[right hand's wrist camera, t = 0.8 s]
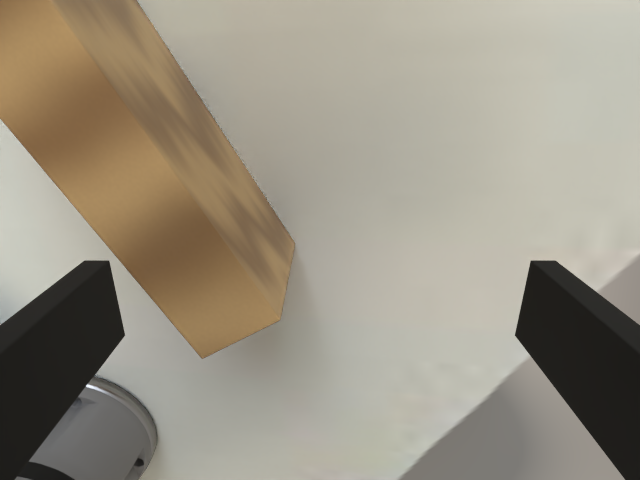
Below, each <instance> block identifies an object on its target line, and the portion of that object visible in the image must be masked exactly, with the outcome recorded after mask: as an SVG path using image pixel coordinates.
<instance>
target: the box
mask: <svg viewBox="0 0 640 480" xmlns="http://www.w3.org/2000/svg"><path fill="white" fill-rule="evenodd" d="M0 119H1V120H2V121H3V122H4V124H5V125H6V126H7V127H8V128H9V129H10V131H11V132H12V133H13V134H14V135H15V137H16V138H17V139H18V140H19V141H20V143H21V144H22V145H23V146H24V147H25V149H26V150H27V151H28V152H29V153H30V154H31V156H32V157H33V158H34V159H35V160H36V162H37V163H38V164H39V165H40V166H41V168H42V169H43V170H44V171H45V172H46V174H47V175H48V176H49V177H50V178H51V179H52V181H53V182H54V183H55V184H56V185H57V187H58V188H59V189H60V190H61V191H62V193H63V194H64V195H65V196H66V197H67V199H68V200H69V201H70V202H71V203H72V204H73V206H74V207H75V208H76V209H77V210H78V212H79V213H80V214H81V215H82V216H83V218H84V219H85V220H86V221H87V222H88V224H89V225H90V226H91V227H92V228H93V229H94V231H95V232H96V233H97V234H98V235H99V237H100V238H101V239H102V240H103V241H104V243H105V244H106V245H107V246H108V247H109V249H110V250H111V251H112V252H113V253H114V254H115V256H116V257H117V258H118V259H119V260H120V262H121V263H122V264H123V265H124V266H125V268H126V269H127V270H128V271H129V272H130V274H131V275H132V276H133V277H134V278H135V279H136V281H137V282H138V283H139V284H140V285H141V287H142V288H143V289H144V290H145V291H146V293H147V294H148V295H149V296H150V297H151V299H152V300H153V301H154V302H155V303H156V304H157V306H158V307H159V308H160V309H161V310H162V312H163V313H164V314H165V315H166V316H167V318H168V319H169V320H170V321H171V322H172V324H173V325H174V326H175V327H176V328H177V330H178V331H179V332H180V333H181V334H182V335H183V337H184V338H185V339H186V340H187V341H188V343H189V344H190V345H191V346H192V347H193V349H194V350H195V351H196V352H197V353H198V355H199V356H200V357H201V358H202V359H203V358H205V357H207V356H209V355H211V354H213V353H215V352H217V351H219V350H221V349H223V348H225V347H227V346H229V345H231V344H233V343H235V342H237V341H239V340H241V339H243V338H245V337H247V336H249V335H251V334H253V333H255V332H257V331H259V330H261V329H263V328H265V327H267V326H269V325H271V324H273V323H275V322H277V321H279V320H280V319H281V314H282V309H283V304H284V299H285V293H286V288H287V283H288V278H289V273H290V268H291V263H292V257H293V252H294V247H295V242H294V241H293V239H292V238H291V236H290V235H289V233H288V232H287V230H286V229H285V227H284V226H283V224H282V223H281V221H280V220H279V218H278V216H277V215H276V213H275V212H274V210H273V209H272V207H271V206H270V204H269V203H268V201H267V200H266V198H265V197H264V195H263V193H262V192H261V190H260V189H259V187H258V186H257V184H256V183H255V181H254V180H253V178H252V177H251V175H250V174H249V172H248V171H247V169H246V167H245V166H244V164H243V163H242V161H241V160H240V158H239V157H238V155H237V154H236V152H235V151H234V149H233V148H232V146H231V144H230V143H229V141H228V140H227V138H226V137H225V135H224V134H223V132H222V131H221V129H220V128H219V126H218V125H217V123H216V121H215V120H214V118H213V117H212V115H211V114H210V112H209V111H208V109H207V108H206V106H205V105H204V103H203V102H202V100H201V99H200V97H199V95H198V94H197V92H196V91H195V89H194V88H193V86H192V85H191V83H190V82H189V80H188V79H187V77H186V76H185V74H184V72H183V71H182V69H181V68H180V66H179V65H178V63H177V62H176V60H175V59H174V57H173V56H172V54H171V53H170V51H169V49H168V48H167V46H166V45H165V43H164V42H163V40H162V39H161V37H160V36H159V34H158V33H157V31H156V30H155V28H154V27H153V25H152V23H151V22H150V20H149V19H148V17H147V16H146V14H145V13H144V11H143V10H142V8H141V7H140V5H139V4H138V2H137V0H0Z"/></svg>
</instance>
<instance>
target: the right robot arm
mask: <svg viewBox="0 0 640 480" xmlns="http://www.w3.org/2000/svg"><path fill="white" fill-rule="evenodd" d="M124 336H125V333H124V328H123V324H122V319H121V314H120V310H119V305H118V300H117V295H116V291H115V286H114V281H113V277H112V272H111V267H110V262H109V261H83V262H82V263H81V264H80V265H78V266H77V267H76V268H74V269H73V270H72V271H70V272H69V273H68V274H67V275H65V276H64V277H63V278H61V279H60V280H59V281H57V282H56V283H55V284H54V285H52V286H51V287H50V288H48V289H47V290H46V291H44V292H43V293H42V294H40V295H39V296H38V297H37V298H35V299H34V300H33V301H31V302H30V303H29V304H27V305H26V306H25V307H24V308H22V309H21V310H20V311H18V312H17V313H16V314H14V315H13V316H12V317H11V318H9V319H8V320H7V321H5V322H4V323H3V324H1V325H0V480H138V479H139V478H140V477H141V475H142V474H143V472H144V471H145V470H146V468H147V466H148V465H149V462H150V460H151V458H152V456H153V454H154V451H155V448H156V444H157V434H156V429H155V425H154V423H153V420H152V418H151V417H150V415H149V413H148V412H147V410H146V409H145V408H144V407H143V405H142V404H141V403H140V402H139V401H138V400H137V399H136V398H134V397H133V396H132V395H131V394H129V393H128V392H127V391H125V390H124V389H122V388H120V387H118V386H117V385H115V384H113V383H110V382H108V381H106V380H103V379H100V378H97V377H93V376H94V375H95V374H96V373H97V371H98V370H99V369H100V367H101V366H102V365H103V363H104V362H105V361H106V359H107V358H108V357H109V356H110V354H111V353H112V352H113V350H114V349H115V348H116V346H117V345H118V344H119V342H120V341H121V340H122V339H123V337H124ZM515 336H516V337H517V339H518V340H519V341H520V342H521V344H522V345H523V346H524V348H525V349H526V350H527V352H528V353H529V354H530V356H531V357H532V358H533V359H534V361H535V362H536V363H537V365H538V366H539V367H540V369H541V370H542V371H543V373H544V374H545V375H546V376H547V378H548V379H549V380H550V382H551V383H552V384H553V386H554V387H555V388H556V390H557V391H558V392H559V393H560V395H561V396H562V397H563V399H564V400H565V401H566V403H567V404H568V405H569V407H570V408H571V409H572V410H573V412H574V413H575V414H576V416H577V417H578V418H579V420H580V421H581V422H582V424H583V425H584V426H585V428H586V429H587V430H588V431H589V433H590V434H591V435H592V437H593V438H594V439H595V441H596V442H597V443H598V445H599V446H600V447H601V448H602V450H603V451H604V452H605V454H606V455H607V456H608V458H609V459H610V460H611V461H612V463H613V464H614V465H615V467H616V468H617V469H618V471H619V472H620V473H621V475H622V476H623V477H624V479H625V480H640V325H639V324H637V323H636V322H635V321H633V320H632V319H631V318H629V317H628V316H627V315H626V314H624V313H623V312H622V311H620V310H619V309H618V308H616V307H615V306H614V305H613V304H611V303H610V302H609V301H607V300H606V299H605V298H603V297H602V296H601V295H599V294H598V293H597V292H596V291H594V290H593V289H592V288H590V287H589V286H588V285H586V284H585V283H584V282H583V281H581V280H580V279H579V278H577V277H576V276H575V275H573V274H572V273H571V272H570V271H568V270H567V269H566V268H564V267H563V266H562V265H560V264H559V263H558V262H557V261H531V262H530V267H529V272H528V276H527V281H526V286H525V291H524V295H523V300H522V305H521V310H520V314H519V319H518V324H517V328H516V333H515Z"/></svg>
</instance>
